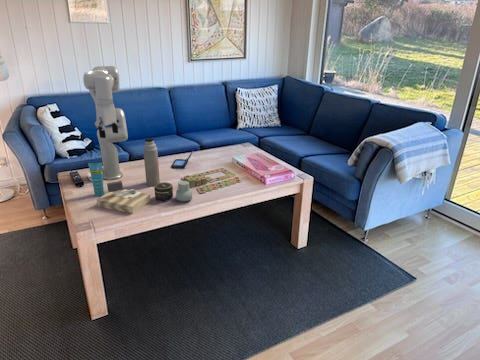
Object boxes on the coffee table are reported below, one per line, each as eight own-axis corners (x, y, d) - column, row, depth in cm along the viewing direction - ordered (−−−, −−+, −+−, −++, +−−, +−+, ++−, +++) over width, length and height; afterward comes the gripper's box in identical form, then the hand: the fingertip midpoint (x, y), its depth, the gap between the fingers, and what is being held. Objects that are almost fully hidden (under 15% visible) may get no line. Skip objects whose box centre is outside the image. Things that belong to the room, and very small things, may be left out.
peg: (109, 196, 196) (107, 185, 194) (108, 195, 198) (107, 183, 196) (134, 192, 203) (133, 180, 200) (133, 190, 204) (132, 178, 202)
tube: (92, 196, 206) (87, 164, 199) (93, 193, 210) (88, 161, 203) (106, 195, 208) (101, 163, 200) (106, 192, 212) (102, 160, 205)
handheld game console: (175, 160, 263) (174, 148, 259) (194, 161, 262) (193, 149, 258) (170, 168, 248) (169, 155, 245) (190, 169, 248) (189, 156, 244)
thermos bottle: (161, 181, 227) (158, 137, 216) (156, 186, 220) (153, 141, 209) (149, 180, 229) (145, 136, 218) (144, 185, 222) (139, 140, 211)
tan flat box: (97, 206, 196) (96, 198, 194) (118, 193, 211) (117, 186, 209) (132, 213, 189) (131, 205, 187) (151, 199, 204) (151, 192, 202)
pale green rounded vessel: (177, 195, 210) (176, 178, 206) (192, 195, 210) (191, 178, 206) (176, 203, 200) (175, 186, 196) (191, 203, 200) (190, 186, 196)
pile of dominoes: (199, 195, 211) (199, 186, 209) (176, 180, 231) (176, 172, 229) (247, 181, 230) (247, 173, 228) (222, 168, 250) (222, 161, 248)
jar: (165, 192, 212) (164, 180, 210) (177, 197, 207) (176, 185, 204) (151, 198, 205) (150, 185, 202) (163, 203, 200) (162, 190, 197)
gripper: (110, 98, 192) (114, 130, 199) (86, 104, 177) (91, 138, 184) (122, 99, 189) (125, 131, 196) (99, 105, 175) (103, 140, 181)
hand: (109, 135), depth 190 cm, fingers open, 9 cm apart
